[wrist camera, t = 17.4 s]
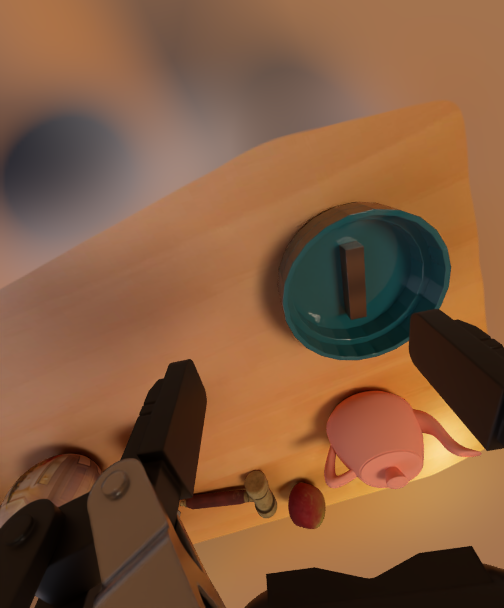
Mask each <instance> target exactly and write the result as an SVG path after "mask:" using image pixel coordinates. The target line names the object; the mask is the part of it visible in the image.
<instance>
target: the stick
mask: <svg viewBox="0 0 504 608" xmlns="http://www.w3.org/2000/svg"><path fill="white" fill-rule="evenodd" d="M339 248H340V260H341V271H342V283H343V295H344V306H345V312H346V314H347V315H348V317H349V318H350V320H353V319H358V318H362V317H367V311H366V287H365V263H364V246H363V245H361V244H360V243H359V242H357V241H354V242H350V243H345V244H341V245H339Z"/></svg>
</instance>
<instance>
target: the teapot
mask: <svg viewBox="0 0 504 608" xmlns="http://www.w3.org/2000/svg"><path fill="white" fill-rule="evenodd" d="M326 431H327V436H328V439H329V441H330V444H331V446H330V449H329V453H328V456H327V460H326V464H325V470H324V476H325V481H326V484H327V485H328V486H329V487H331V488H338V487H341V486H343V485H345V484H347V483H348V482H350V481H352V480H353V479H355V478H356V477H358V478H359V479H361V480H362V481H363V482H364V483H366V484H367V485H370V486H372V487H377V488H387V487H388V488H391V489H398V488H402V487H404V486H405V485H407V483H408V481H410V480H412V479H413V478H415V477H416V476H417V475H418V474H419V473H420V472H421V470H422V468H423V460H424V444H423V434H422V433H426V434H430V435H433V436H434V437H436V438H437V439H438V440H439V441H440V442H441V443H442V445H443V446H444V447H445V448H446V449H447V450H448V451H450V452H451V453H453V454H455V455H457V456H461V457H474V456H479V455H481V452H479V451H475V450H472V449H468V448H465V447H463V446H461V445H460V444H458V443H457V442H456V441H454V440H453V439H452V438H451V437H450V435H449V434H448V433H447V432H446V431H445V429H444V428H443V427H442V426H441V425H440V423H439V422H438V421H437V420H436V419H435V418H433V417H432V416H431V415H429V414H428V413H426V412H423V411H420V410H415V409H412V407H411V406H410V404H409V403H408V402H407V401H405V400H404V399H403V398H401V397H400V396H397V395H395V394H392V393H388V392H383V391H366V392H362V393H358V394H355V395H353V396H350V397H348V398H347V399H345V400H343V401H342V402H341V403H340V404H338V405H337V406H336V407H335V409H334V410H333V412H332V413H331V415H330V417H329V419H328V422H327V428H326ZM336 454H337V456H338V457H339V458H340V460H341V461H342V462H343V463H344V464H345V465H346V467H347V468H348V469H350V470H349V471H347V472H346V473H344V474H342V475H339V476H337V475H336V474H335V457H336Z"/></svg>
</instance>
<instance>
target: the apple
mask: <svg viewBox="0 0 504 608" xmlns="http://www.w3.org/2000/svg"><path fill="white" fill-rule="evenodd" d="M288 507H289V514H290V517H291V519H292V521H293V522H294V524H296V525H297V526H299V527H303V528H308V529H315V528H318V527H319V526H320V525H321V523H322V521H323V519H324V516H325V500H324V497H323V495H322V493H321V491H320V490H319V489H318V488H316V487H314V486H312V485H310V484H307V483H298V484H296V485H295V486H294V488H293V489H292V491H291V493H290V496H289V504H288Z"/></svg>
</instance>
